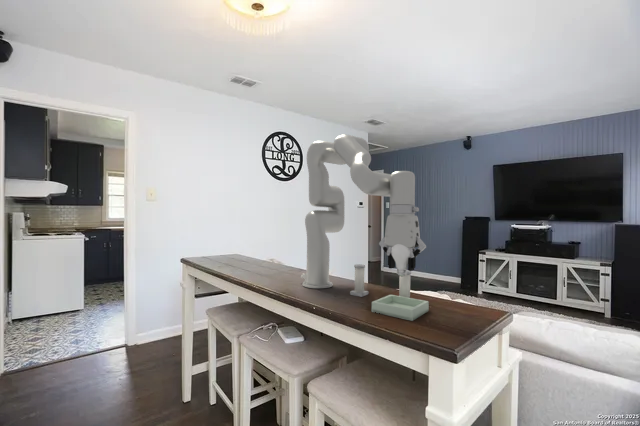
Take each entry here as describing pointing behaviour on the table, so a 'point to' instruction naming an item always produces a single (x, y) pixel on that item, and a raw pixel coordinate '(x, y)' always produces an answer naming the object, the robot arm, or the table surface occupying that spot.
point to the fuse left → (359, 281)
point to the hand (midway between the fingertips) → (401, 268)
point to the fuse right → (405, 285)
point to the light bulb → (401, 258)
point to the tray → (400, 307)
